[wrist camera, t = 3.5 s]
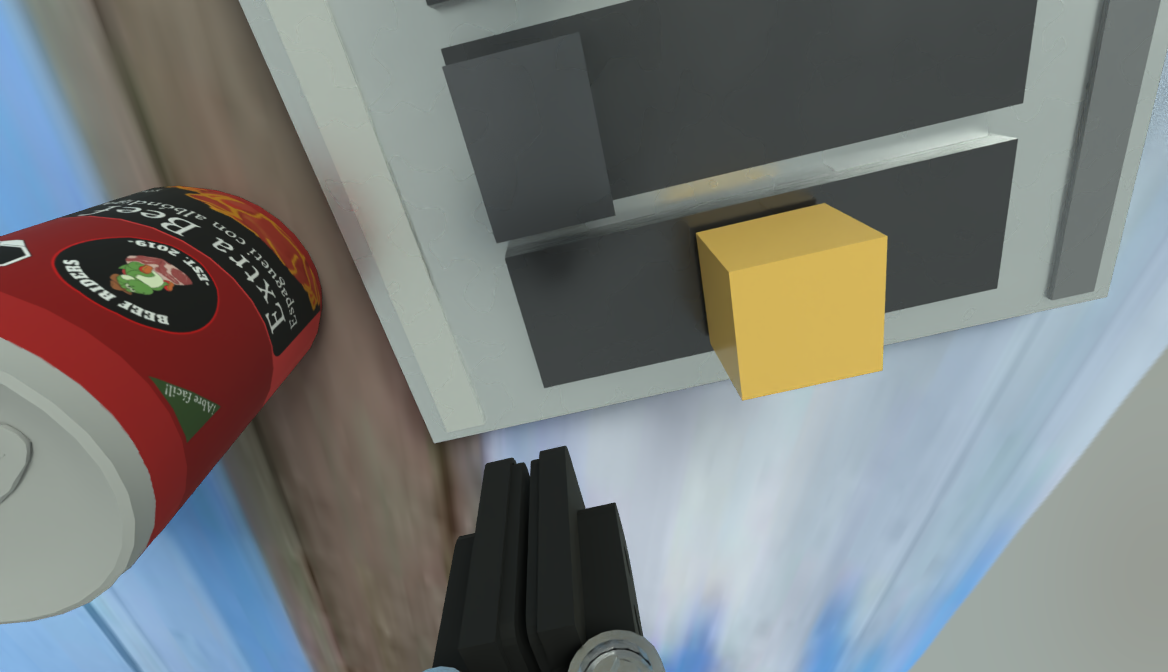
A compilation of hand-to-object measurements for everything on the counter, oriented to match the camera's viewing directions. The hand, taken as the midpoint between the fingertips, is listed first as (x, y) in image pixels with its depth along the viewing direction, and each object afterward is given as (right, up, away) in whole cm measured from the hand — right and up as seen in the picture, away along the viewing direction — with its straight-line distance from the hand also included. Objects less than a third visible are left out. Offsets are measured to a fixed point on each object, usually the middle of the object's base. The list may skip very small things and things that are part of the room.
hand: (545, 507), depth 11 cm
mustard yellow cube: (+7, +5, +6) cm, 11 cm away
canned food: (-13, +6, +9) cm, 17 cm away
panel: (+5, +12, +7) cm, 15 cm away
